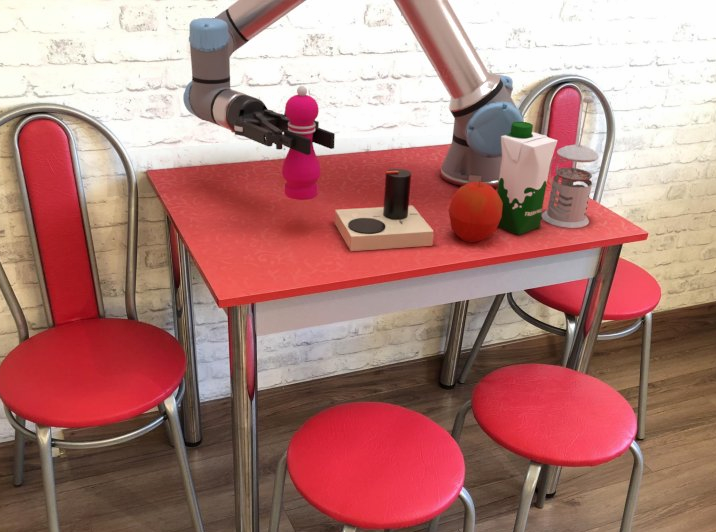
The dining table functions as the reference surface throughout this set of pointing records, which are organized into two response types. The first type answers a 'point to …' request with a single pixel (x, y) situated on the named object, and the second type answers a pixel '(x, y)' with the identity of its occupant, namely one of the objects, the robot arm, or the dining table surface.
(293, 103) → the pepper mill
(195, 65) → the robot arm
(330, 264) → the dining table surface
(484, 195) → the apple
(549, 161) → the milk carton
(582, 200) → the french press
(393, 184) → the hob knob
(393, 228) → the hob
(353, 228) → the burner
